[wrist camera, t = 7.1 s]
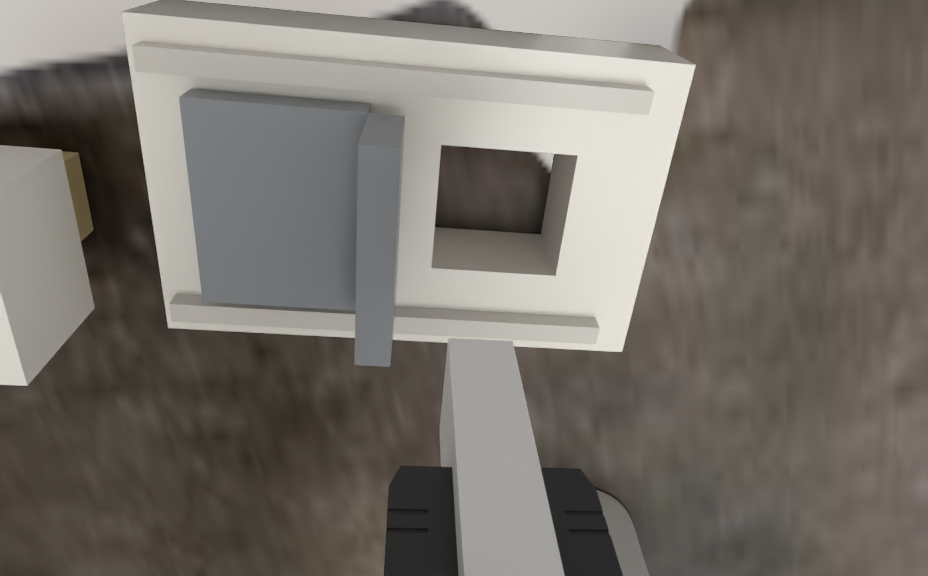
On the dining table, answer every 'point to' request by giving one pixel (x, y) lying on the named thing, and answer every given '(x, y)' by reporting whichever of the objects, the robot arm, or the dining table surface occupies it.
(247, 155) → the grey l-shaped bracket
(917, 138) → the dining table surface
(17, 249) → the plug
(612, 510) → the mug
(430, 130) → the cream railed base block
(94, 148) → the dining table surface
